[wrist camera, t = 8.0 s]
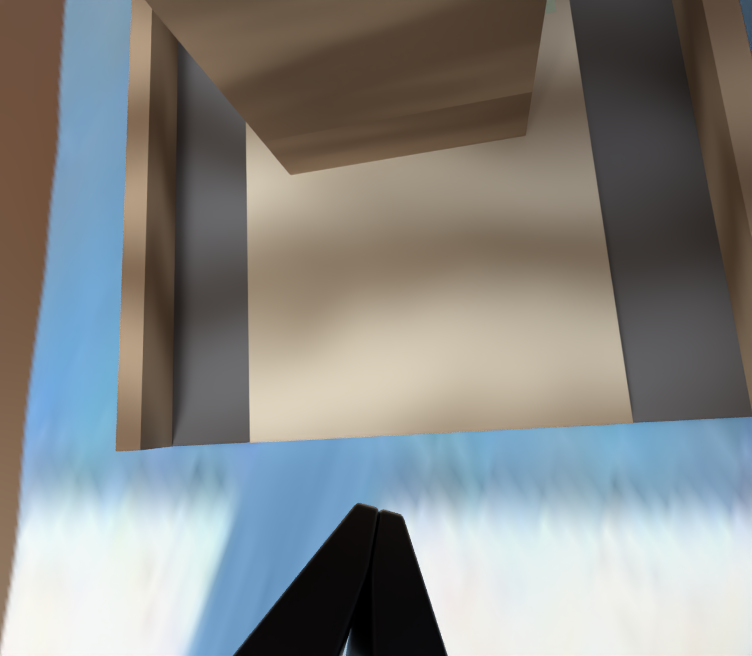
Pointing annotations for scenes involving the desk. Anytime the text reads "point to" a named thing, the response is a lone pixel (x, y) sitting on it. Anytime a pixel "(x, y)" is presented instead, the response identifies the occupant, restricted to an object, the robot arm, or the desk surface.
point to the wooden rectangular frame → (448, 251)
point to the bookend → (366, 72)
